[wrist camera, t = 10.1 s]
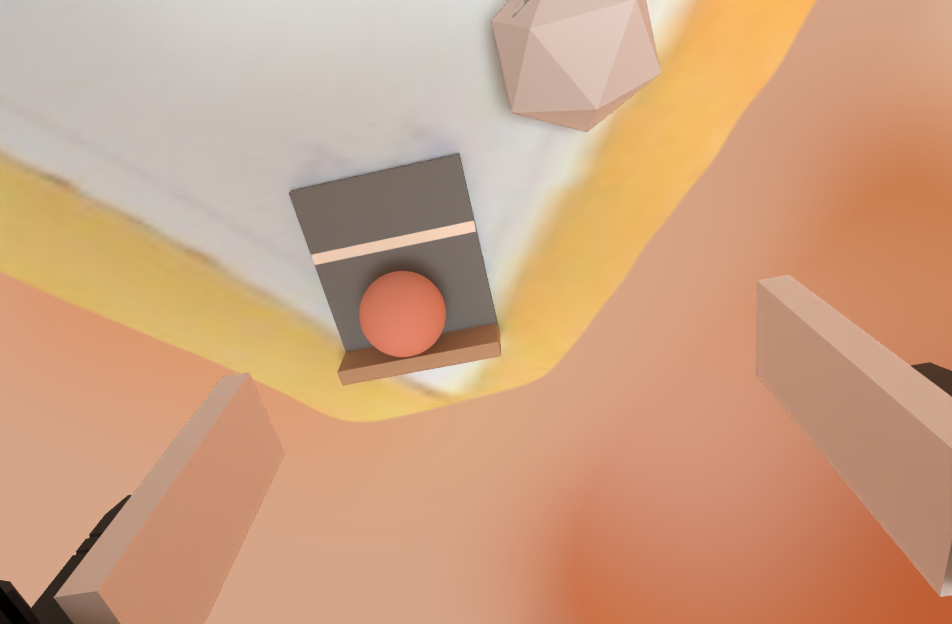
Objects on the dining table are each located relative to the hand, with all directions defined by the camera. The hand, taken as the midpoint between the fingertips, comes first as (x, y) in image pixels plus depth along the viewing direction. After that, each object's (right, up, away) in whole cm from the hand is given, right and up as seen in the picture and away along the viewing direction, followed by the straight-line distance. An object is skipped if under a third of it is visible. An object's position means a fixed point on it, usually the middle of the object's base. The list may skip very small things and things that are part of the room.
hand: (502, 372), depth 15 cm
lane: (-6, +5, +27) cm, 28 cm away
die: (+5, +18, +21) cm, 28 cm away
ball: (-6, +3, +28) cm, 28 cm away
